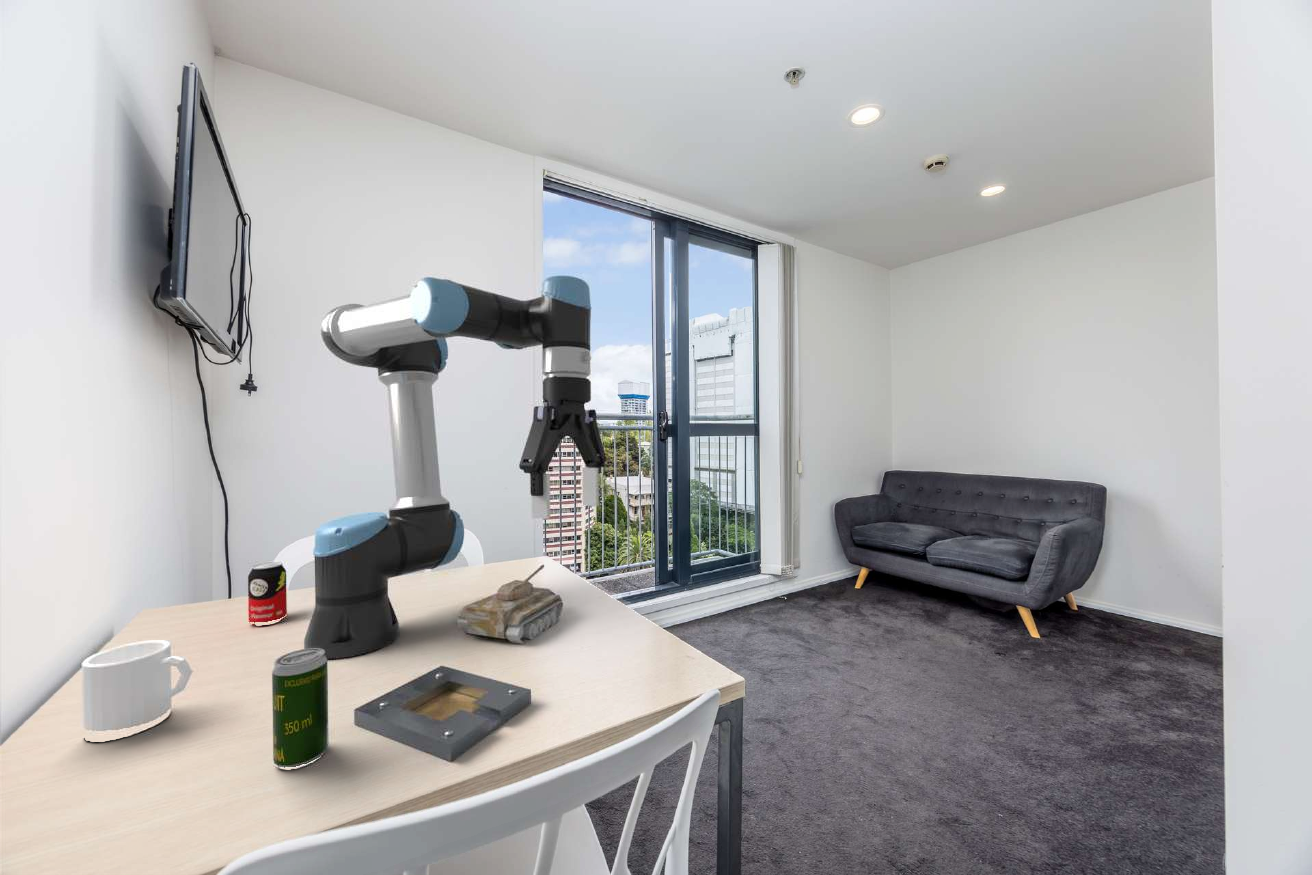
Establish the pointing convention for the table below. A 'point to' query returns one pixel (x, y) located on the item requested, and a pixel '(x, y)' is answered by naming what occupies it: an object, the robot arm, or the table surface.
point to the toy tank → (512, 612)
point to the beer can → (300, 707)
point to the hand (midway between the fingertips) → (567, 511)
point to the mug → (130, 685)
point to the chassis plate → (443, 711)
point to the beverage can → (267, 592)
